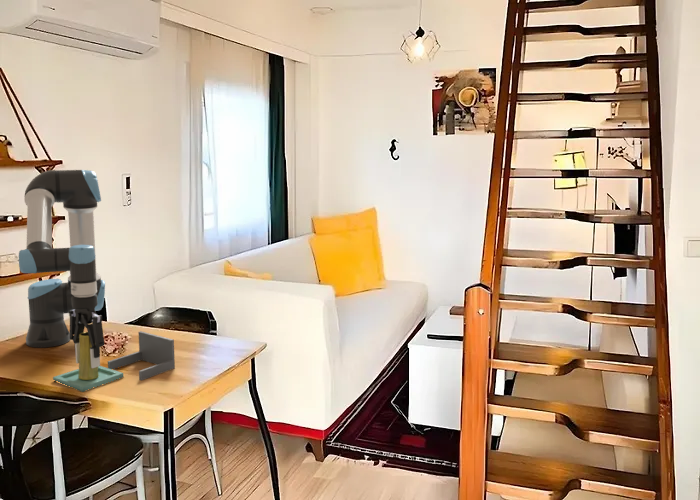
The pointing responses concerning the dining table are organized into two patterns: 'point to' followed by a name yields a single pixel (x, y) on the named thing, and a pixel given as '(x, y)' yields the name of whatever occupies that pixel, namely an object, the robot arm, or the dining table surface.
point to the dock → (149, 355)
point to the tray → (83, 385)
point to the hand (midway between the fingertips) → (88, 364)
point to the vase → (86, 359)
